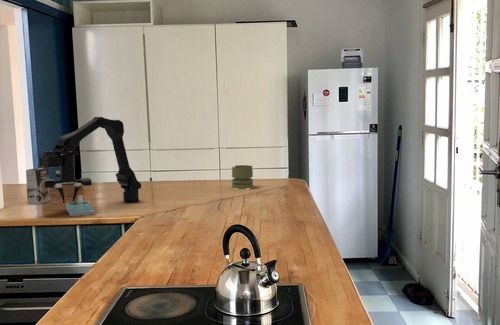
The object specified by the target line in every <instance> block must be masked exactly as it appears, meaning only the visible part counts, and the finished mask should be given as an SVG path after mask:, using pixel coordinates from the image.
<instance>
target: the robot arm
mask: <svg viewBox="0 0 500 325" xmlns="http://www.w3.org/2000/svg"><path fill="white" fill-rule="evenodd" d="M98 128H101V129H104V130H105V132H106V135H107V136H108V138H110V139H111V142H112V146H113V151H114V154H115V158H116V162H117V166H118V172H116V173H115V177H116V182H118V184H119V185H120V187H121V189H123V191H122V201H123V202H124V203H127V204H129V203H139V202H140V199H139V190H141V188H142V184H141V182H140V181H138V179H137V177H136V173H135V172H134V170H133V169H132V168H131V166H130V162H129V158H128V156H127V150H126V146H125V142H124V138H123V137H124V134H125V126H124V123H123V121H121V120H120V119H110V118H109V119H108V118H105V117H103V116H94V117H93V118H92V119H91V120H89V121H88V122H86V123H85V124H83V125H82V126H80V127H79V128H77V129H76V130H75V131H72V132H70V133H66V134H64V135H62V136H59V137H58V138H57V140H56V144H55V145H54V147H53V148H52V150H51V151H43V155H42V156H41V159H40V163H41V166H42V168H48V169H52V168H60V169H59V170H55V179H56V180H55V179H52V178H51V179H50V178H49V180H44V187H45V188H49V189H51V188H52V189H53V188H54V190H58V193H59V195H60V197H61V200H62V202H63V204H66V202H65V194H64V187H63V186H69V185H71V186H72V196H71V199H72V200H71V202H73V203H74V202H75V200H76V198H77V195H78V192H79V190H80V189H82V188H83V186H84V187H86V186H88V187H89V186H90V187H91V186H92V183H93V182H92V179H91V178H90V177H80V179H76V174H75V173H76V172H75V168H76V166H75V156H79V155H80V153H79V152H78V151H76V148H77V147H78V146H79V145H80V143H81V141H82V140H83V139H85V138H87V136H89V135H90V134H92V133H93V132H95V131H96V130H97V129H98ZM57 179H58V180H57ZM82 185H83V186H82Z"/></svg>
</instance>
